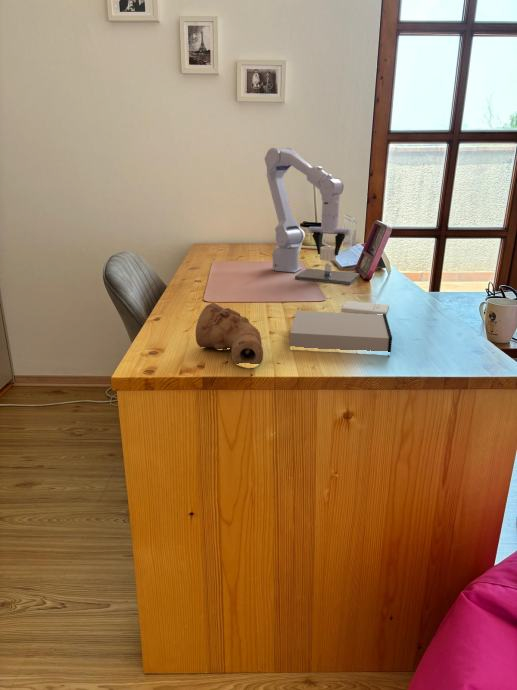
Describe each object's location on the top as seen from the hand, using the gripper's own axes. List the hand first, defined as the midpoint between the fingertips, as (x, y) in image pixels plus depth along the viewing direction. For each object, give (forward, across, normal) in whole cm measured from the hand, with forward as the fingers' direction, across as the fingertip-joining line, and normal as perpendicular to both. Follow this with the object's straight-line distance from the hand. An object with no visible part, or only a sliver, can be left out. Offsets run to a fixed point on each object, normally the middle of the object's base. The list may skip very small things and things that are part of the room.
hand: (327, 254), depth 179 cm
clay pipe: (+9, +1, -81) cm, 81 cm away
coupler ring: (+2, 0, 0) cm, 2 cm away
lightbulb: (+9, -25, +40) cm, 48 cm away
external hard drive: (+9, +21, -33) cm, 41 cm away
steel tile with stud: (+8, 0, 0) cm, 8 cm away
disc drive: (+9, +21, -61) cm, 66 cm away
